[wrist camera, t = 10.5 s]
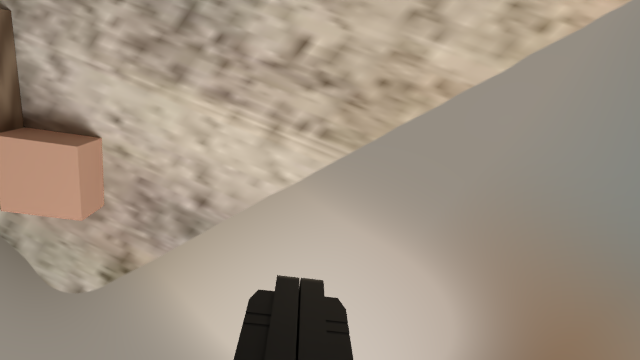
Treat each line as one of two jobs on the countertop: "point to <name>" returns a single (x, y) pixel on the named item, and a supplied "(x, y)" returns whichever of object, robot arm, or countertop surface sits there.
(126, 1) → the countertop surface
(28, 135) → the terracotta block
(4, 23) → the walnut board
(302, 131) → the countertop surface
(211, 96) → the countertop surface
